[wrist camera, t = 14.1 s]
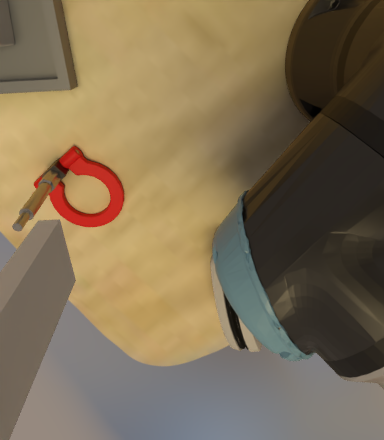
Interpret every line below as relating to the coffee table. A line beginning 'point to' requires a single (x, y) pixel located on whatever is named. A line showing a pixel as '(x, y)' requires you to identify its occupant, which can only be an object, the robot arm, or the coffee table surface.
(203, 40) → the coffee table surface
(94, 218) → the tow hook
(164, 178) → the coffee table surface
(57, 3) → the tray
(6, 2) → the padlock
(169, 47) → the coffee table surface
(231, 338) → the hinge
